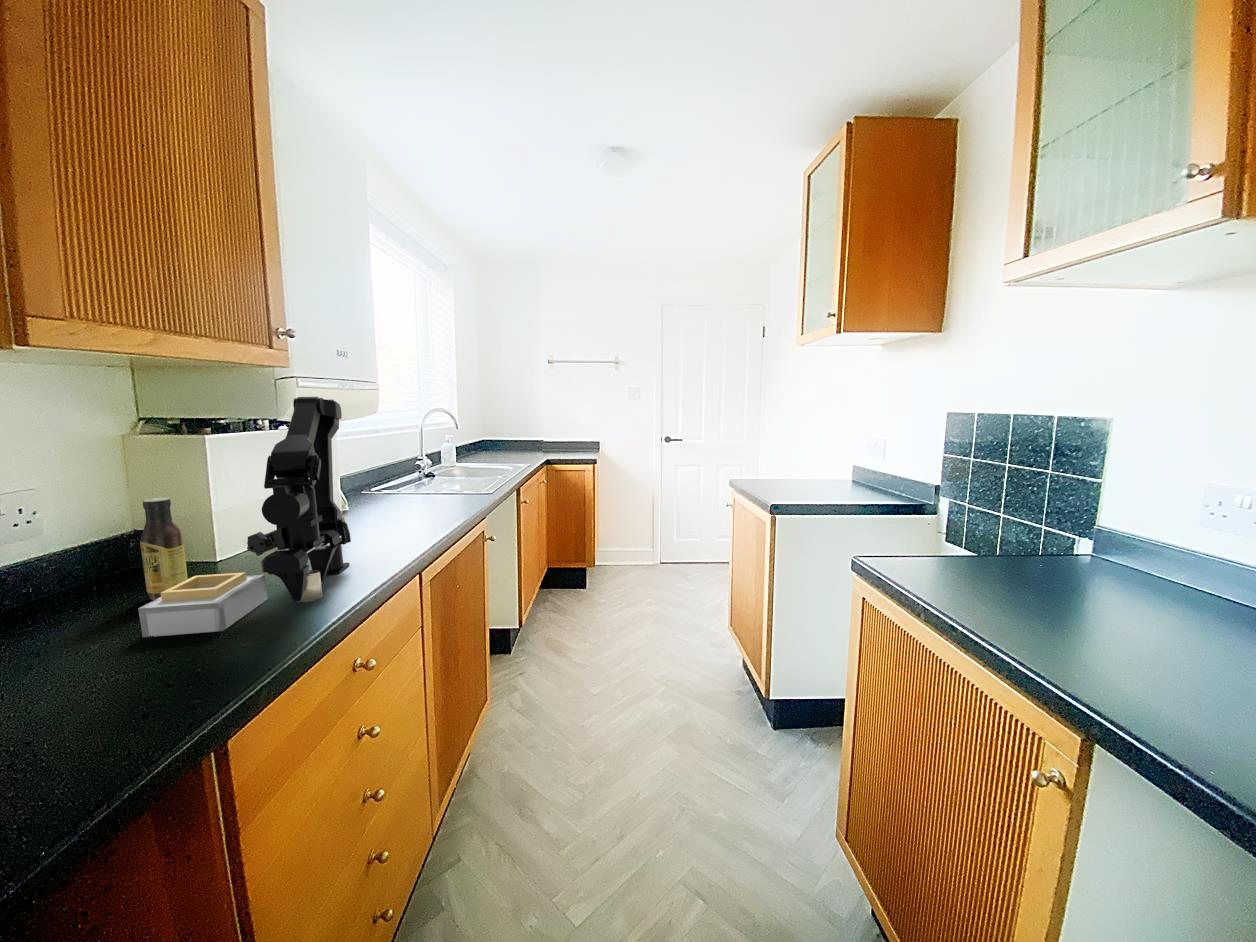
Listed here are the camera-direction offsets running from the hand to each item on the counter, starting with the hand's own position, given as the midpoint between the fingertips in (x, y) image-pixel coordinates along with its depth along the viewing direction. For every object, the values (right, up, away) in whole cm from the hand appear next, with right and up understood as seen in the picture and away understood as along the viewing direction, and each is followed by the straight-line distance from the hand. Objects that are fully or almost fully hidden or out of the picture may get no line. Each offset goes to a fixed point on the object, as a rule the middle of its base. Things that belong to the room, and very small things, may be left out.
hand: (308, 591), depth 100 cm
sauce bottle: (-30, -2, +3) cm, 30 cm away
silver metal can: (0, -1, 0) cm, 1 cm away
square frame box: (-13, -3, -8) cm, 15 cm away
